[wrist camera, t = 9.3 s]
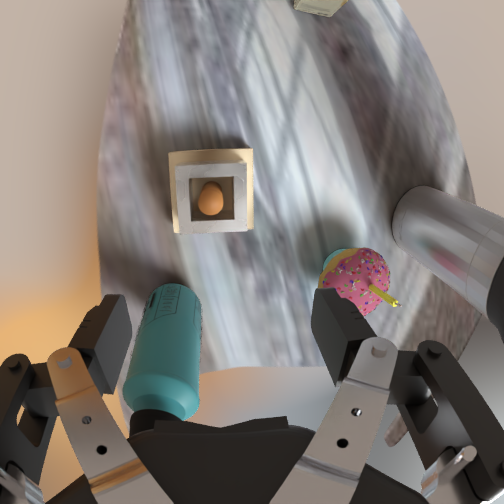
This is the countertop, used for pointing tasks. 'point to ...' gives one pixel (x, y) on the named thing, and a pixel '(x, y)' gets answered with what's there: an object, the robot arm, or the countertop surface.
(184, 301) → the beverage bottle
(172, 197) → the keeper
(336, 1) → the skincare box
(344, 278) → the cupcake
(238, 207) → the link
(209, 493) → the robot arm
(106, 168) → the countertop surface
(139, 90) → the countertop surface
